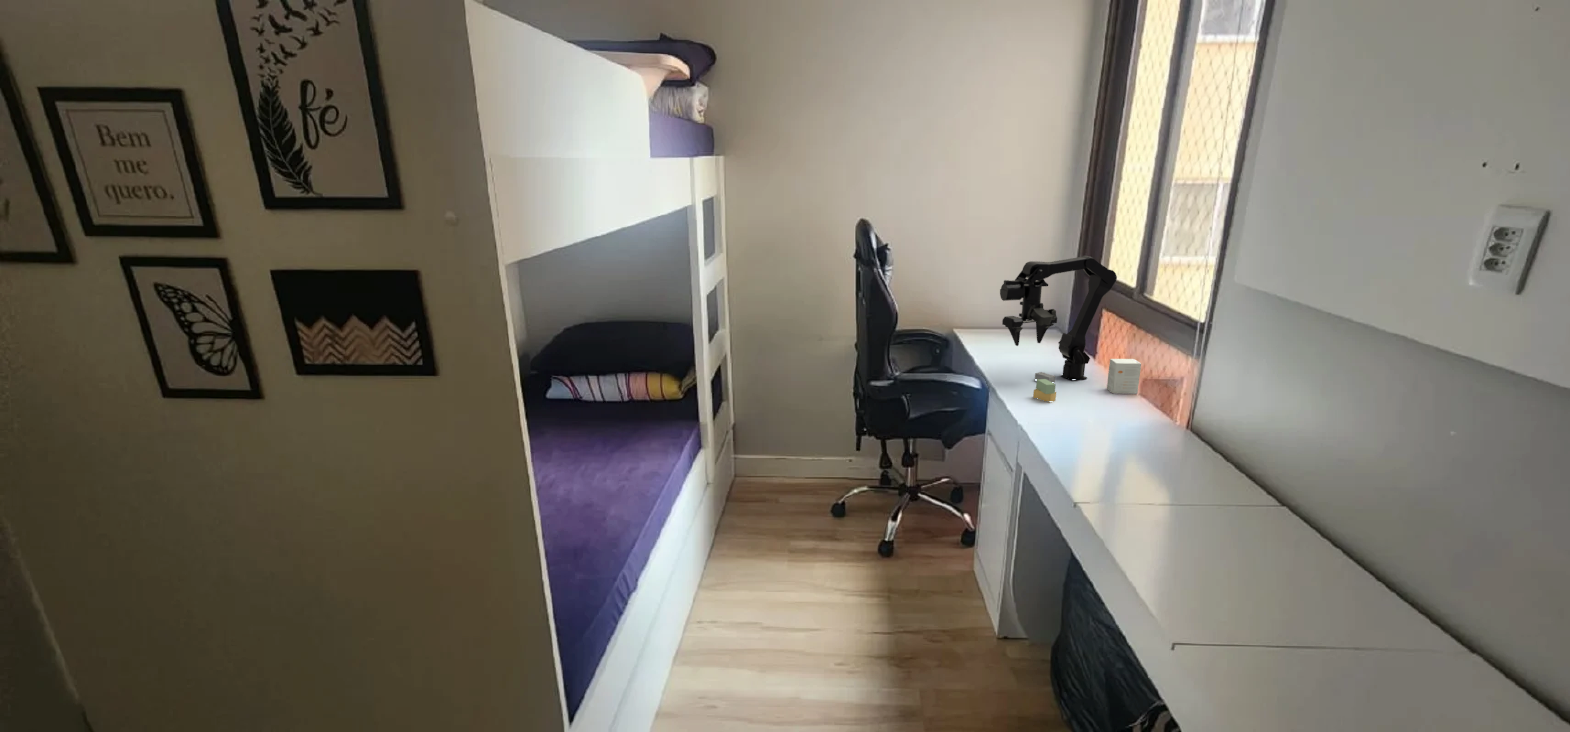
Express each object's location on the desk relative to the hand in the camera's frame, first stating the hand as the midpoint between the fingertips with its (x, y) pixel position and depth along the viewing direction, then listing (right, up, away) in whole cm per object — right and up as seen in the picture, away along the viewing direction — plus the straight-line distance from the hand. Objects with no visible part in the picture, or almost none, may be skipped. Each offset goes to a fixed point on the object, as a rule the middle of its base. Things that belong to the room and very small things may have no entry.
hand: (1027, 344), depth 233 cm
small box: (+27, -16, -10) cm, 33 cm away
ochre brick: (-1, -18, -16) cm, 25 cm away
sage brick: (-1, -15, -17) cm, 23 cm away
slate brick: (+6, -13, +1) cm, 15 cm away
